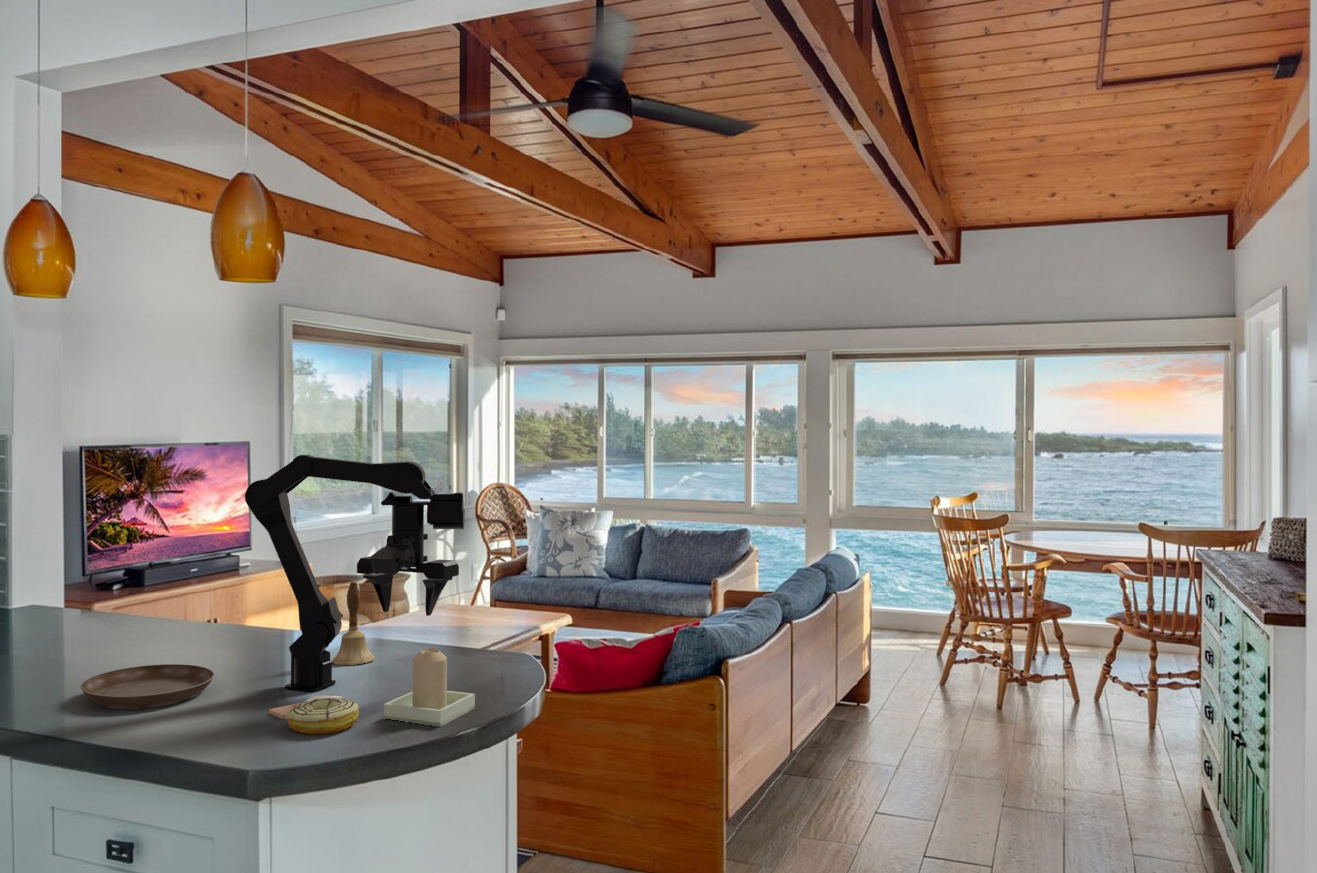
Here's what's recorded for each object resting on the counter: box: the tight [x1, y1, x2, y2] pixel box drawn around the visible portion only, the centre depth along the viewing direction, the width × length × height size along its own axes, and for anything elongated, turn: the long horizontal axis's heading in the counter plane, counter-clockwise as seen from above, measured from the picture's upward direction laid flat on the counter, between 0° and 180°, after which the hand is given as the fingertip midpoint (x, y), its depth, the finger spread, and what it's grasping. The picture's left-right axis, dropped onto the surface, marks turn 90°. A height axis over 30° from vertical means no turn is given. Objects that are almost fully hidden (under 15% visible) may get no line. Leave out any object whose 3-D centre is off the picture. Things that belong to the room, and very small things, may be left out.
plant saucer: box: [80, 663, 215, 710], centre depth 167 cm, size 21×21×3 cm
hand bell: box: [331, 581, 375, 666], centre depth 193 cm, size 8×8×16 cm
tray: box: [383, 690, 476, 728], centre depth 158 cm, size 11×11×2 cm
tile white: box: [303, 694, 343, 702], centre depth 163 cm, size 5×5×1 cm
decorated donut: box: [285, 698, 360, 735], centre depth 151 cm, size 10×11×4 cm
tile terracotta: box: [268, 703, 299, 720], centre depth 157 cm, size 5×5×1 cm
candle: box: [412, 647, 448, 710], centre depth 158 cm, size 6×6×10 cm
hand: (407, 613), depth 176 cm, fingers open, 9 cm apart
